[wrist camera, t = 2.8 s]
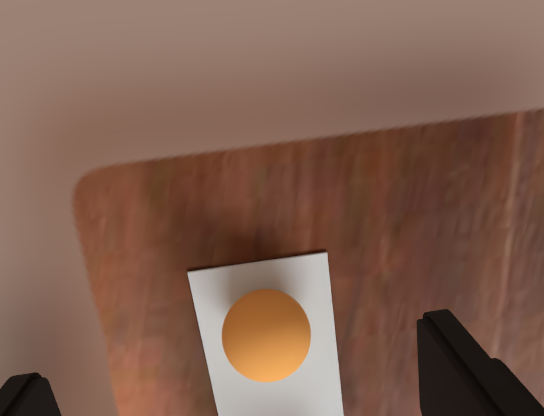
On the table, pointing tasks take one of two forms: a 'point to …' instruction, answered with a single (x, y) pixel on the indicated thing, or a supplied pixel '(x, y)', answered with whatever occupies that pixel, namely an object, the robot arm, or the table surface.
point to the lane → (322, 352)
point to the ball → (266, 335)
